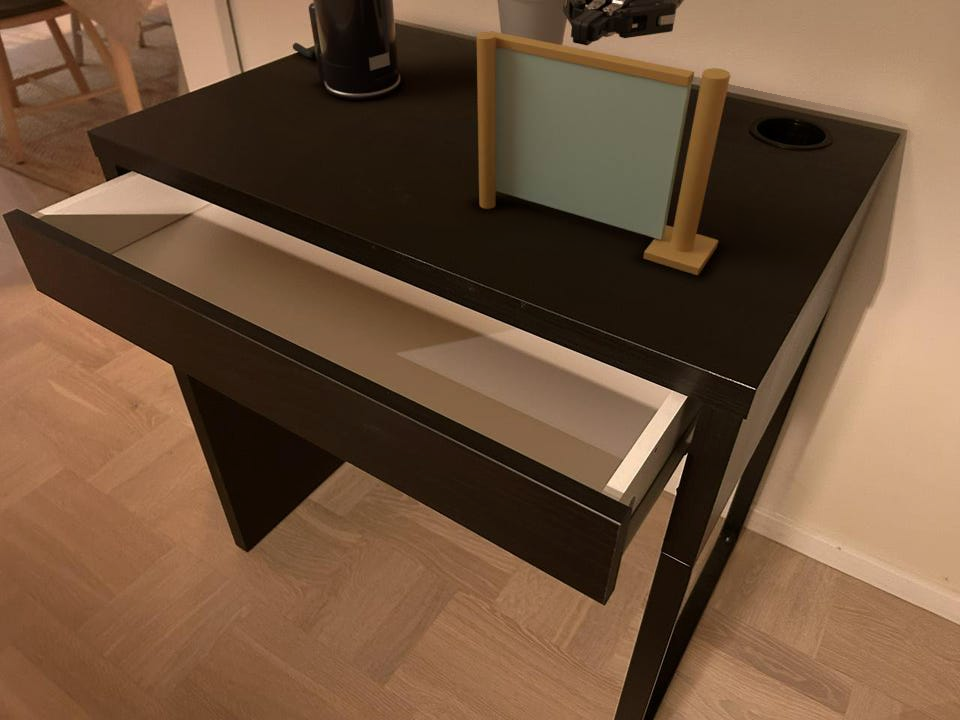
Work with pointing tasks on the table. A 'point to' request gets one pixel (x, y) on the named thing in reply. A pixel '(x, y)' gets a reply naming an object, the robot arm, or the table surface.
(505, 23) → the foam cup
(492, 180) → the wooden dowel rod
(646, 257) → the hinge post
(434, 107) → the table surface
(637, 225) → the glass door
